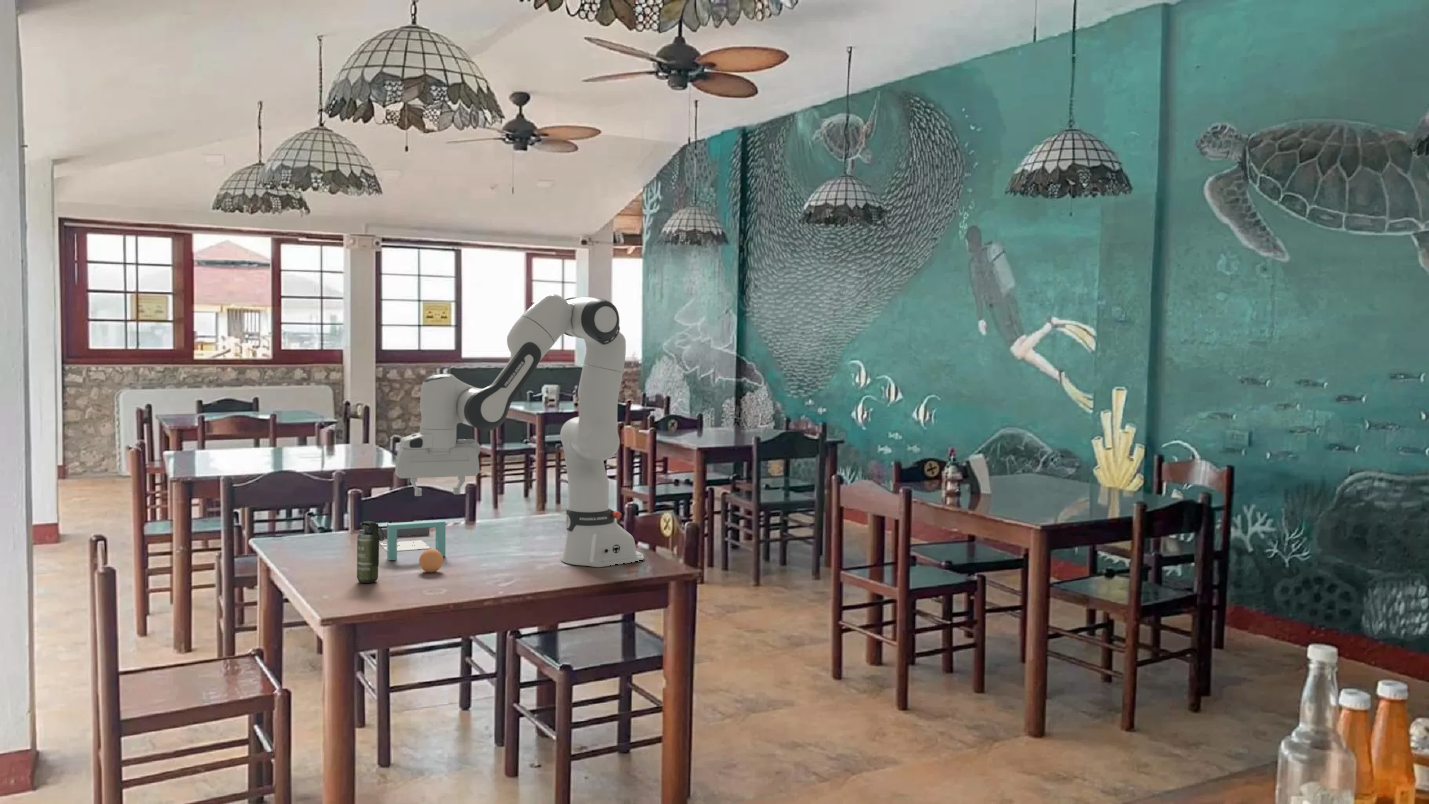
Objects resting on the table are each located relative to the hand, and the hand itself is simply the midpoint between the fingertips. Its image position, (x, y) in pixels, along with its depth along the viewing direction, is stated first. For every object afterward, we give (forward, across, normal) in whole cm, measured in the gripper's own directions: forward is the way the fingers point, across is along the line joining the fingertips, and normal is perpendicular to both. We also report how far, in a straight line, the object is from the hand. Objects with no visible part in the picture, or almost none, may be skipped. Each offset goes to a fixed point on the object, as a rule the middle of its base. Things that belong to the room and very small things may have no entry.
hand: (437, 494), depth 271 cm
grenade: (+22, +16, -4) cm, 27 cm away
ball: (+19, 0, -9) cm, 21 cm away
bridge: (+22, 0, -27) cm, 35 cm away
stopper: (+22, +1, -58) cm, 62 cm away
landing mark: (+22, +1, -43) cm, 48 cm away
